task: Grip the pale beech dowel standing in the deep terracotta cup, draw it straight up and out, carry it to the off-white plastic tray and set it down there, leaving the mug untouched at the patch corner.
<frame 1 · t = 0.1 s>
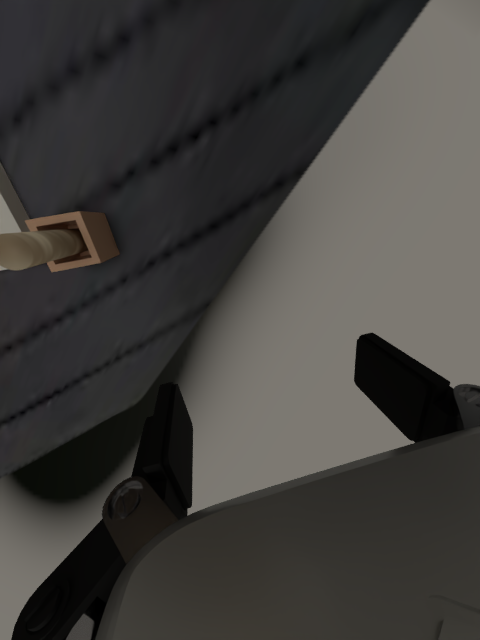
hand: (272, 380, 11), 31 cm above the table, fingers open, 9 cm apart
terracotta cup: (92, 238, 34), on the table
beech dowel: (89, 238, 34), point 1 cm above the table, touching terracotta cup
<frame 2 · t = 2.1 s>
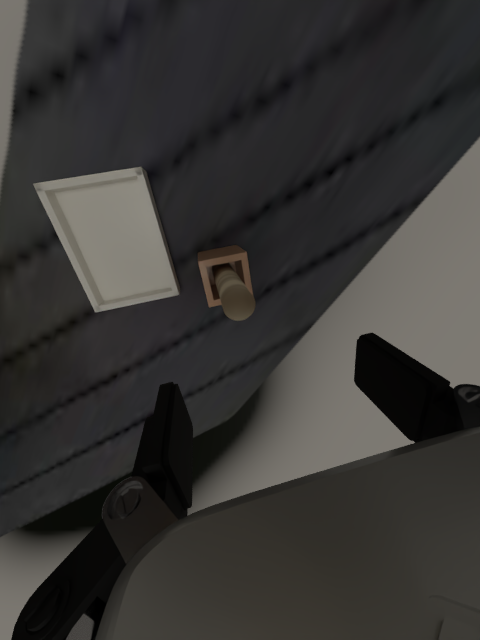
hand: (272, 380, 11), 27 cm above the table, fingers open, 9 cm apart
terracotta cup: (220, 267, 36), on the table
beech dowel: (221, 269, 35), point 1 cm above the table, touching terracotta cup
plastic tray: (122, 244, 32), on the table
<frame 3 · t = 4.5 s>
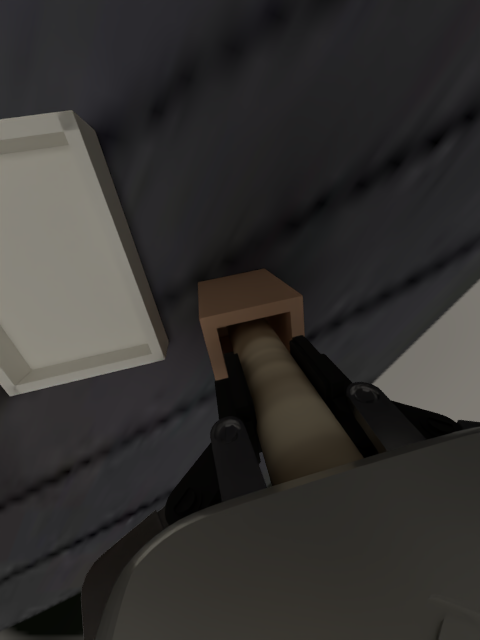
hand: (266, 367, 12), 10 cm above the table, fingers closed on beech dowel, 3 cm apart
terracotta cup: (237, 306, 21), on the table
beech dowel: (239, 310, 20), point 1 cm above the table, touching gripper, terracotta cup
plastic tray: (59, 271, 17), on the table
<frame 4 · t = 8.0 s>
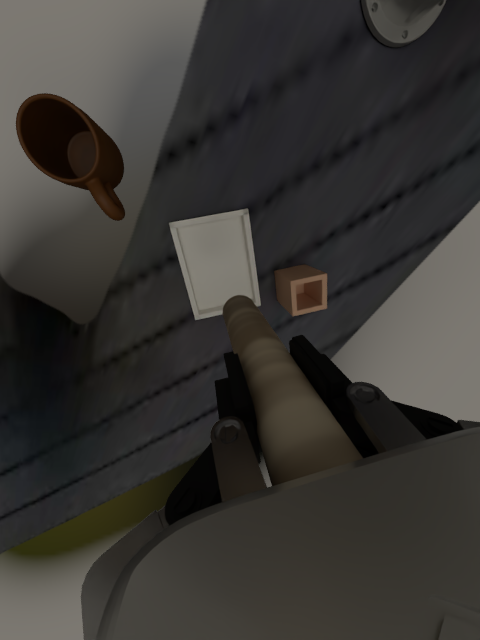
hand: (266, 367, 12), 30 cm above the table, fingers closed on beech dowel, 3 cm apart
mug: (107, 178, 32), on the table
terracotta cup: (290, 282, 44), on the table
beech dowel: (239, 311, 20), point 22 cm above the table, touching gripper
plastic tray: (218, 265, 40), on the table
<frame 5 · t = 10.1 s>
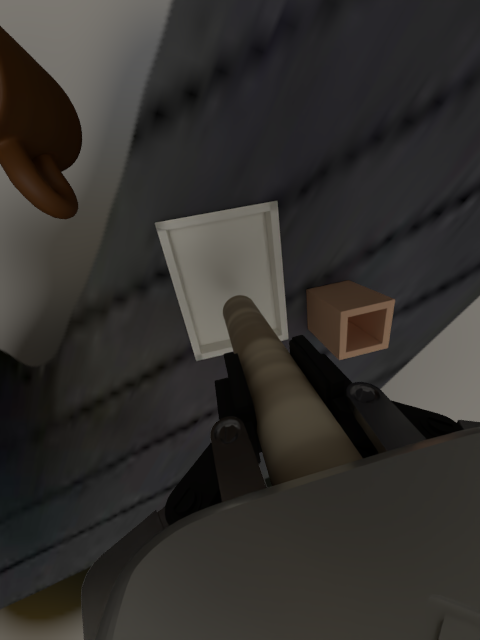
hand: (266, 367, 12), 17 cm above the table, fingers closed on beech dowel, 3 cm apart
mug: (57, 153, 20), on the table
terracotta cup: (327, 305, 32), on the table
beech dowel: (239, 311, 20), point 9 cm above the table, touching gripper
plastic tray: (228, 283, 28), on the table
when the fingers open (11 cm above the table, at t = 11.7 s): beech dowel stays where it is, resting on plastic tray.
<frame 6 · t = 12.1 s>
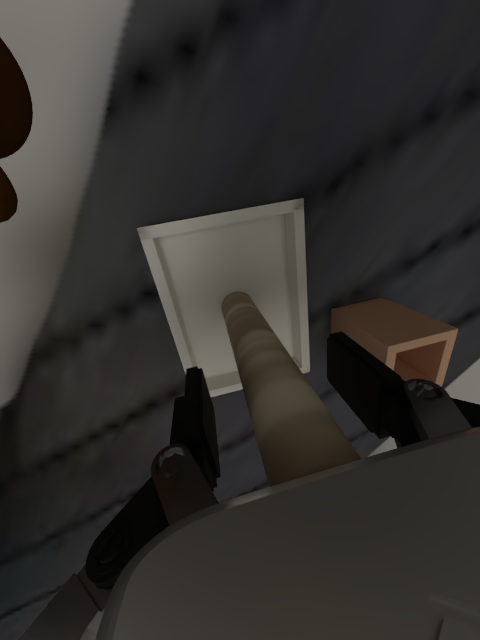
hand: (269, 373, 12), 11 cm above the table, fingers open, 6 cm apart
mug: (0, 131, 15), on the table
terracotta cup: (355, 327, 26), on the table
beech dowel: (237, 306, 21), point 1 cm above the table, touching plastic tray
plastic tray: (235, 303, 22), on the table
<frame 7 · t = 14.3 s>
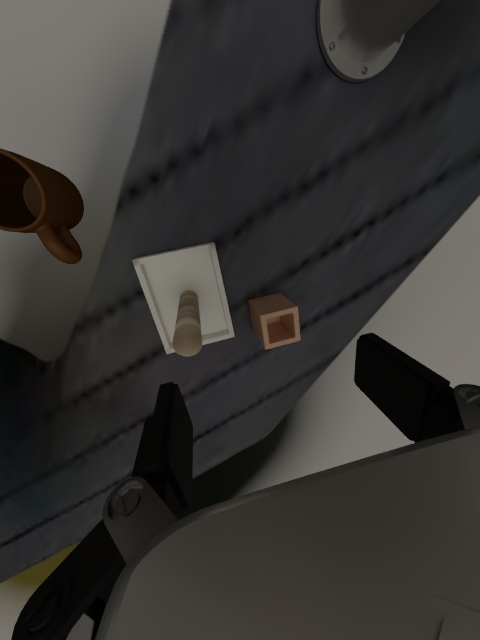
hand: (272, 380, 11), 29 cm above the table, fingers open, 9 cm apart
mug: (67, 217, 31), on the table
terracotta cup: (265, 311, 43), on the table
beech dowel: (189, 299, 38), point 1 cm above the table, touching plastic tray
plastic tray: (189, 297, 39), on the table
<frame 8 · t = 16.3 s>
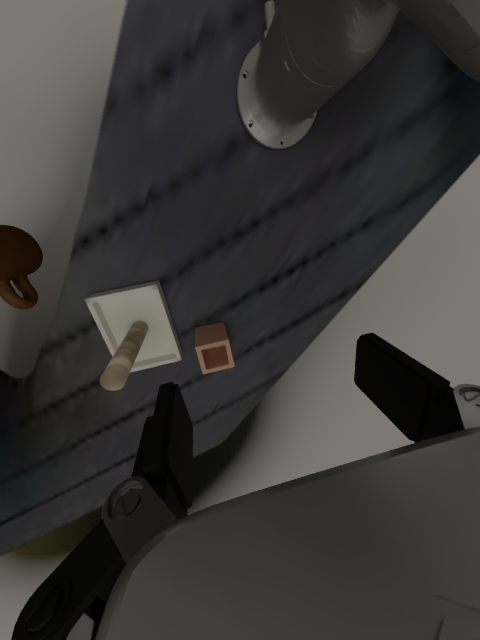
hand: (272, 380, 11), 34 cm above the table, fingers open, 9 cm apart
mug: (29, 262, 37), on the table
terracotta cup: (212, 336, 48), on the table
beech dowel: (140, 328, 44), point 1 cm above the table, touching plastic tray
plastic tray: (141, 325, 45), on the table
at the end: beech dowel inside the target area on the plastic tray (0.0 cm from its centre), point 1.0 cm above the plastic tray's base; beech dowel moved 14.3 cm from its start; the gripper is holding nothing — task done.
